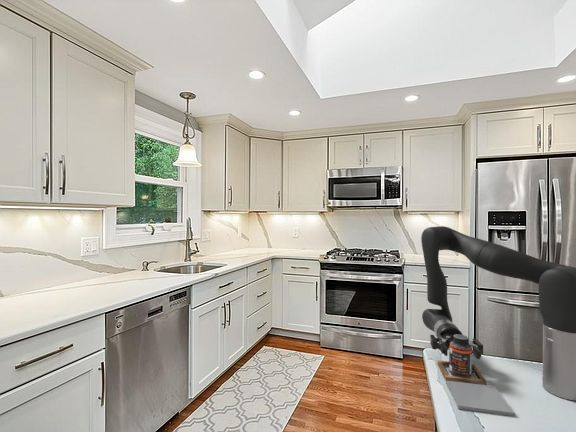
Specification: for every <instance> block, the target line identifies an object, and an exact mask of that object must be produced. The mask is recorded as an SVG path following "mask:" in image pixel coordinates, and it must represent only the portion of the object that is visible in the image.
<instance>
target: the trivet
mask: <svg viewBox="0 0 576 432" xmlns="http://www.w3.org/2000/svg"><path fill="white" fill-rule="evenodd" d="M445 385H446V388H447V389H448V391H449V392H450V395H451V397H452V398H453V399H452V400H453V401H454V404H455V405H456V407H457V409H459V410H464V411H465V410H466V411H473V412H480V413H487V414H494V415H495V414H496V415H503V416H509V417H510V416H511V417H515V412H514V411H513V409H512V408H511V406H509V404H508V403H507V402H506V400H505V399H504V397H503V396H502V395H501V394H500V392H499V391H498V389H497V388H496V387H495V386H494V385H488V384H487V385H481V384H472V383H463V382H454V381H445Z"/></svg>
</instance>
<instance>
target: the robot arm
mask: <svg viewBox="0 0 576 432" xmlns="http://www.w3.org/2000/svg"><path fill="white" fill-rule="evenodd" d="M420 238H421V239H420V241H421V247H422V254H423V260H424V267H425V270H426V271H425V272H426V281H427V282H426V283H427V284H426V285H427V286H426V287H427V288H426V290H427V291H426V294H427V296H426V297H427V301H428V303H430V304H431V305H436V306H438V307H440V308H426V309H425V310H424V311H423V312H422V316H421V319H422V322H423V324H424V326H425V327H426V328H427V329H428V330H430V331H432V332H434V334H435V335H434V334H430V335H429V337H430V338H429V342H430V345H431V348H432V350H434V351H436V350H438V351H440V352H441V354H443V356H445V357H448V356H449V355H448V354H449V351H450V343H451V342H452V341H454V340H453V336H454V335H455V334H460V335H464V334H463V333H462V331H461V330H460V329H459V328H458V327H457V325H456V324H455V323H454V322H453V317H452V314H451V311H450V307H449V302H448V281H447V279H446V275H445V273H444V272H443V270H442V268H441V265H440V261H439V255H440V251H452V252H455V253H458V254H460V255H463V256H464V257H466V258H467V259H468V260H469V261H470V262H471V263H472V264H473V265H474V266H476V267H478V268H480V269H483V270H484V271H488V272H490V273H492V274H495V275H499V276H503V277H508V278H513V279H517V280H518V279H519V280H523V281H528V282H532V283H535V284H537V285H538V302H539V303H538V304H539V306H538V307H539V308H538V309H539V313H540V315H541V318H542V378H541V379H542V387H543V388H544V390H546V391H547V392H548V393H551V394H553V396H554V395H555V396H556V397H560V398H562V399H566V400H571V401H576V267H575V266H570V265H566V264H561V263H556V262H554V261H552V262H551V261H549V260H548V261H547V260H544V259H540V258H537V257H534V256H531V255H529V254H527V253H524V252H521V251H518V250H515V249H512V248H509V247H507V246H504V245H501V244H497V243H495V242H492V241H488V240H484V239H481V238H478V237H474V236H473V237H472V236H470V235H467V234H464V233H462V232H459V231H457V230H455V229H453V228H450V227H448V226H443V225H441V226H431V227H426V228H425V229H424V230H423V231H422V233H421V237H420ZM469 344H470V345H471V347H472V356H474V357H475V358H476V359H477V360H480V359H481V358H482V355H484V345H483V343H481V342H480V341H479V340H478V339H477V338H472V340H469ZM448 350H449V351H448Z"/></svg>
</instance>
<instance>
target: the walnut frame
mask: <svg viewBox="0 0 576 432" xmlns="http://www.w3.org/2000/svg"><path fill="white" fill-rule="evenodd" d="M436 363H437V366H438V369H439V370H440V372H441V375H442V376H443V378H444V382H446V381H454V382H463V383H472V384H481V385H488V381H487V380H486V378H485V377H484V375H482V373H481V372H480V371H479V369H478V367H477V366H476V365H475V363H472V373H473V374H474V373H475V374H474V375H475V377H476V378H473V377H470V378H465V377H456V376H454V375H449V374H448V372H447V369H446V368H447V367H449V361H446V360H437V362H436ZM445 367H446V368H445Z"/></svg>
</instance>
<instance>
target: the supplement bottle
mask: <svg viewBox="0 0 576 432" xmlns="http://www.w3.org/2000/svg"><path fill="white" fill-rule="evenodd" d="M453 340H454V341H452V342H451V343H450V350H449V351H448V354H449V355H448V356H449V358H448V359H449V361H448V362H449V369H448V371H449V373H450V375H451V376H456V377H465V378H472V376H473V375H472V374H473V371H472V364H473V353H472V350H473V348H472V346H471V345H470V344H469V341H470V340H469V336H467V335H464V334H463V335H460V334H455V335H454V336H453Z"/></svg>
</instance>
